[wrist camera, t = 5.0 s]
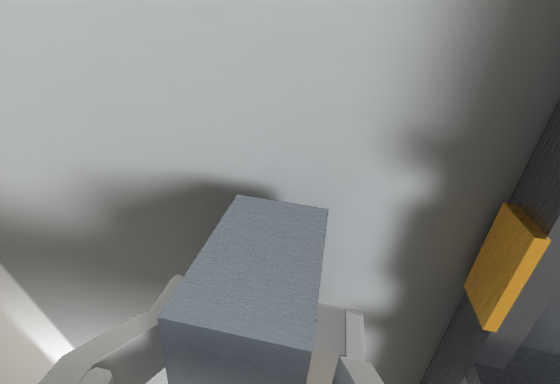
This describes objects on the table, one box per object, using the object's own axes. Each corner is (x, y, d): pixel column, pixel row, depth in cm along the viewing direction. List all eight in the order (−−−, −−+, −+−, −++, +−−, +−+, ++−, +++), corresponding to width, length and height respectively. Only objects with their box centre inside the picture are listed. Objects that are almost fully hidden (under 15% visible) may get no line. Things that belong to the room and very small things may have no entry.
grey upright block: (237, 194, 10) (156, 317, 6) (328, 209, 10) (312, 352, 6) (236, 317, 13) (181, 460, 9) (306, 333, 13) (285, 490, 9)
